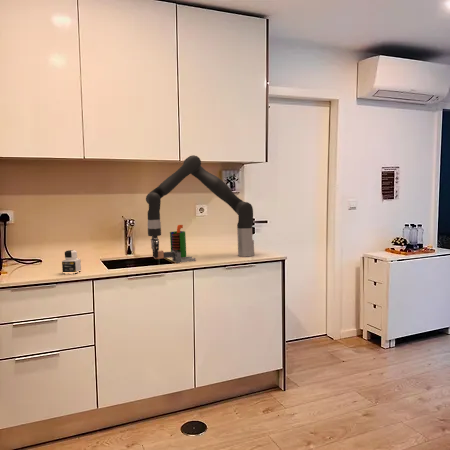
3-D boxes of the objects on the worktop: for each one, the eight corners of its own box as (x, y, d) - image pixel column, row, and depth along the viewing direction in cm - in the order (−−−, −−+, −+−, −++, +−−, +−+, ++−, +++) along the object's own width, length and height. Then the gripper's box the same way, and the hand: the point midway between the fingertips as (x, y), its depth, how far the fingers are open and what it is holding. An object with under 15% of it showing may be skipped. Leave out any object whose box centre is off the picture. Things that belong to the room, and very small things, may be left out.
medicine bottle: (62, 274, 215) (61, 251, 214) (68, 271, 222) (66, 249, 221) (76, 274, 215) (74, 251, 214) (81, 271, 222) (80, 249, 221)
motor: (168, 257, 261) (166, 225, 259) (176, 255, 269) (175, 224, 267) (181, 258, 256) (180, 225, 254) (189, 255, 264) (188, 224, 262)
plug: (172, 256, 246) (172, 249, 245) (173, 257, 242) (173, 250, 242) (153, 257, 242) (153, 251, 242) (155, 258, 238) (154, 251, 238)
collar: (191, 258, 254) (190, 248, 253) (196, 261, 242) (195, 251, 242) (172, 260, 250) (172, 250, 249) (176, 263, 239) (176, 252, 238)
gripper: (145, 226, 244) (147, 255, 246) (149, 228, 231) (150, 259, 232) (158, 226, 247) (159, 254, 248) (163, 228, 233) (164, 258, 235)
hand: (155, 256), depth 240 cm, fingers closed on plug, 4 cm apart
